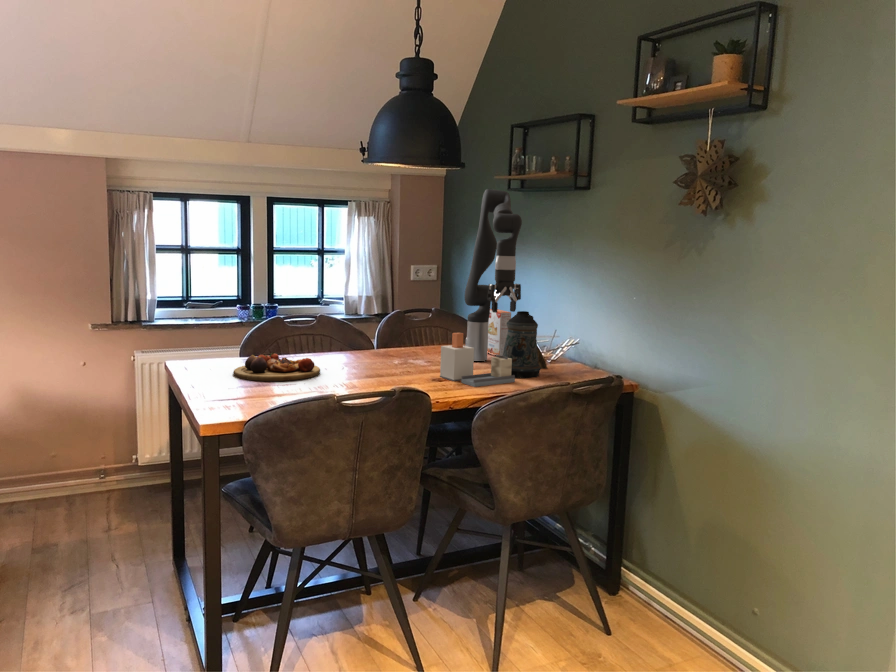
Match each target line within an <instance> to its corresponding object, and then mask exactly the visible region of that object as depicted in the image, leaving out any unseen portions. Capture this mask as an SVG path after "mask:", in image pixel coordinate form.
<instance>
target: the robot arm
mask: <svg viewBox="0 0 896 672" xmlns="http://www.w3.org/2000/svg"><path fill="white" fill-rule="evenodd" d="M489 213H492V214H493V220H492V227H493V229H492V227H491V224H490V220H489ZM479 215H480V216H479V223H478V229H477V233H476V237H475V243H474V248H473V255H472V261H471V266H470V271H469V275H468V279H467V282H466V287H465V288H464V289H465V290H464V303H465V305H467V306H470V307H478V309H477V310H476V311H475V310H474V311H473V312H471V313H468V315H467V323H466V324H467V325H466V327H467V330H466V338H465V346H468V347H472V348H474V361H484V362H486V361H485V360H487V361H488V354H487V351H488V325H489V316H490V309H492V312H494V313H497V310H498V308H499V307H498V306H499V303H498V301H499V299H501V298H502V297H506V296H507V297H508V298H509V300H510V301H509V312H511V313H512V312H513V313H514V312H516V309H517V302H518V301H520V300H521V299H522V290H521V289H522V285H521V283H515V282H516V271H517V269H516V268H517V267H516V266H517V264H516V263H517V262H516V261H517V260H516V253H517V251H516V249H517V248H516V247H517V243H518V242H517V241H518V237H519V234H520V231H521V228H522V223H523V221H522V217H521V216H520V215H519V214H518V213H513V210H512V203H511V195H510V194H509V192H508V191H505V190H501V189H493V188H486V189H485V190H484V192H483V194H482V199H481V206H480V214H479ZM493 230H494V231H495V232H496V233H498V234H499V233H500V234H510V236H509V237H507V238H504V239H499V240H497V239H496V236H495V234H494V231H493ZM494 260H495V262H494ZM492 263H494V264H495V269H494V280H495V284H493V283H489V284H479V283H480V279H481V277H482V275H484V273H485V272H486V271H487V269H488V268H489V267H490V266H491V265H492Z"/></svg>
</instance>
